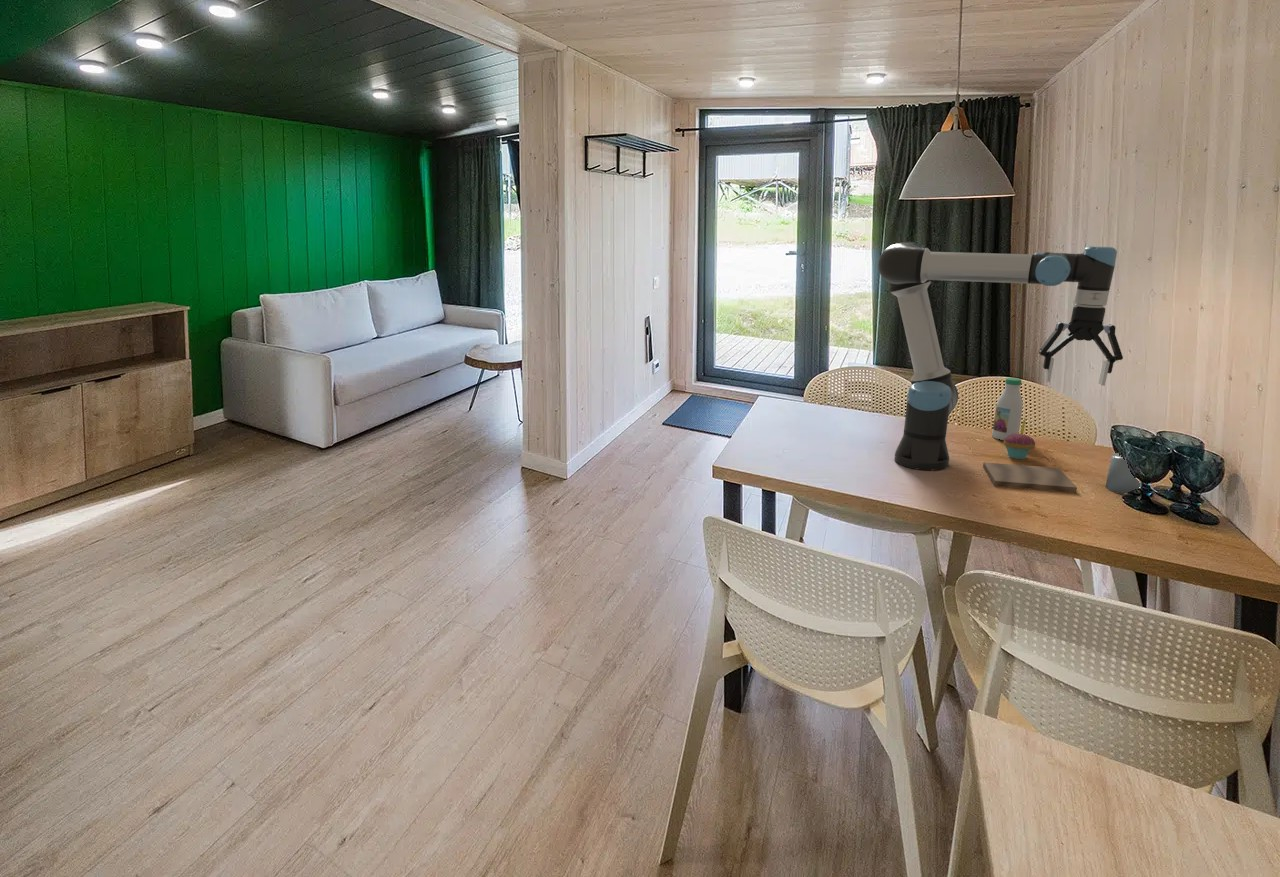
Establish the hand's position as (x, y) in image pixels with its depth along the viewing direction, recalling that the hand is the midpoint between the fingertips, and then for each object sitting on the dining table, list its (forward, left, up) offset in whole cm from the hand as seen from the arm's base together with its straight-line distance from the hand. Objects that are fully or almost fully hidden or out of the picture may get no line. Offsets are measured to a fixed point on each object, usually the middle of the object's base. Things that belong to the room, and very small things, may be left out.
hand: (1074, 382), depth 201 cm
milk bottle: (-8, +30, -26) cm, 41 cm away
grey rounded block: (+12, -13, -26) cm, 31 cm away
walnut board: (-11, -11, -26) cm, 30 cm away
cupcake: (-9, +10, -26) cm, 29 cm away
